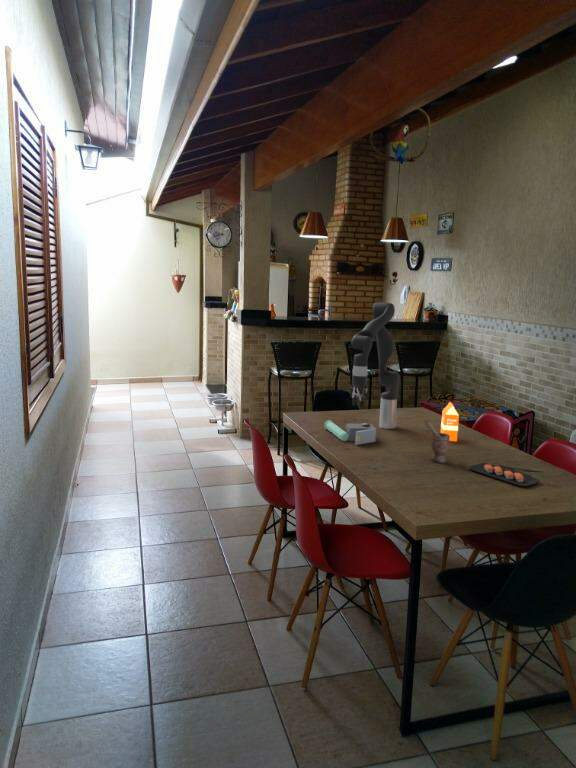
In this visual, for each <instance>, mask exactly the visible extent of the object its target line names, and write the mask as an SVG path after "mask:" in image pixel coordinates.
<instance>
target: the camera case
mask: <svg viewBox="0 0 576 768" xmlns="http://www.w3.org/2000/svg"><path fill="white" fill-rule="evenodd" d="M374 428H376V427H375V426H374V425H373V424H372V423H368V422H363V423H345V432H346V433H347V434H348V440H347V441H349V442H355V438H356V431H362V430H368V429H374Z"/></svg>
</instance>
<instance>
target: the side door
mask: <svg viewBox="0 0 576 768" xmlns="http://www.w3.org/2000/svg"><path fill="white" fill-rule="evenodd" d="M377 433H378V428H377V427H375V428H374V429H368V430H362V431H356V438H355V441H354V445H355V446H358V445H364V444H370V443H375V442H377Z"/></svg>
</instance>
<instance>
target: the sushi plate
mask: <svg viewBox="0 0 576 768" xmlns="http://www.w3.org/2000/svg"><path fill="white" fill-rule="evenodd" d="M496 464H497V465H495V464H492V463H487V462H482V463H477V464H473V465H471V466H470V465H469V467H468V469H469V470H471V471H473V472H476V473H479V474H483V475H485V476H488V477H492V478H494V479H498V480H500V481H504V482H507V483H510V484H512V485H516V486H520V487H529V486H532V485H535V484H537V483H539V482H540V479H538V478H536V477H534V476H532V475H529V474H526V473H524V471H526V472H534V473H542V470H541V471H540V470H534V469H533V470H532V469H525V468H517V467H509V466H506V465H503V464H500V463H497V462H496ZM521 471H522V472H521Z"/></svg>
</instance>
